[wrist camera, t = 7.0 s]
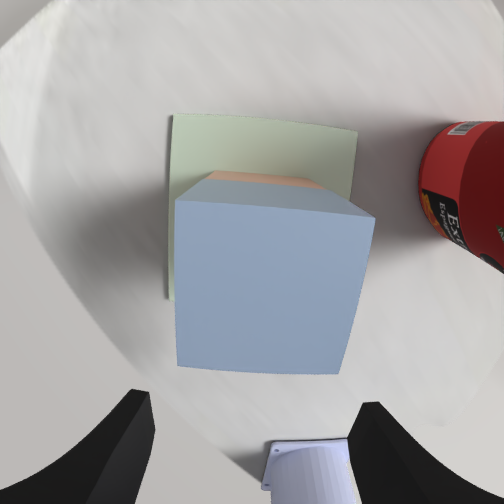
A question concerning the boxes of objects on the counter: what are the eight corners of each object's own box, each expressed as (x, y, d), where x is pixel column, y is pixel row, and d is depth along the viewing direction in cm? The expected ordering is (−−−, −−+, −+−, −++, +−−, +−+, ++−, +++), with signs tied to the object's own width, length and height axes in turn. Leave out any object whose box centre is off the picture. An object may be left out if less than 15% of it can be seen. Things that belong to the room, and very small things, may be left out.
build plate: (328, 310, 20) (329, 312, 19) (170, 298, 19) (168, 300, 19) (356, 131, 16) (358, 131, 16) (174, 114, 16) (173, 113, 15)
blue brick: (312, 303, 14) (338, 374, 9) (198, 295, 14) (177, 365, 9) (330, 190, 12) (375, 218, 8) (202, 178, 12) (174, 200, 7)
